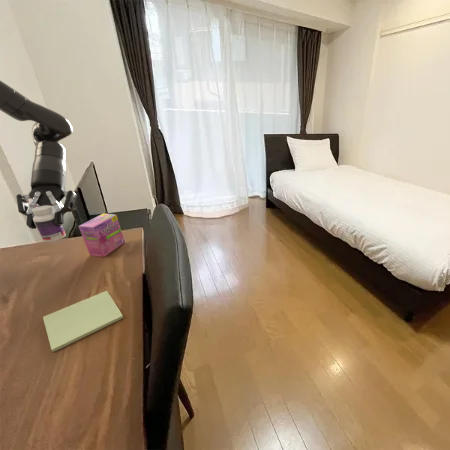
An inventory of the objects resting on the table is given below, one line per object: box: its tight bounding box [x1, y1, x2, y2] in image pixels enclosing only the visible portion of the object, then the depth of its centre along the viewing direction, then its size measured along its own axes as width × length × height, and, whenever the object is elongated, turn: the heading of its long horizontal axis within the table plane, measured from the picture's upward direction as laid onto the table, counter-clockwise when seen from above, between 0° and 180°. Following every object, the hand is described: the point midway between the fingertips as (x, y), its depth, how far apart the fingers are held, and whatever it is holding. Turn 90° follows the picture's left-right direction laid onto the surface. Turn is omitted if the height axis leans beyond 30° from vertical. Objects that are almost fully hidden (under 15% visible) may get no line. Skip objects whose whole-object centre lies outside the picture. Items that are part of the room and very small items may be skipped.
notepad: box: [42, 290, 124, 353], centre depth 68 cm, size 14×14×1 cm
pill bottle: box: [32, 205, 67, 243], centre depth 79 cm, size 5×5×10 cm
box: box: [78, 213, 126, 258], centre depth 96 cm, size 10×6×12 cm, turn 171°
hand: (45, 226), depth 77 cm, fingers closed on pill bottle, 5 cm apart
